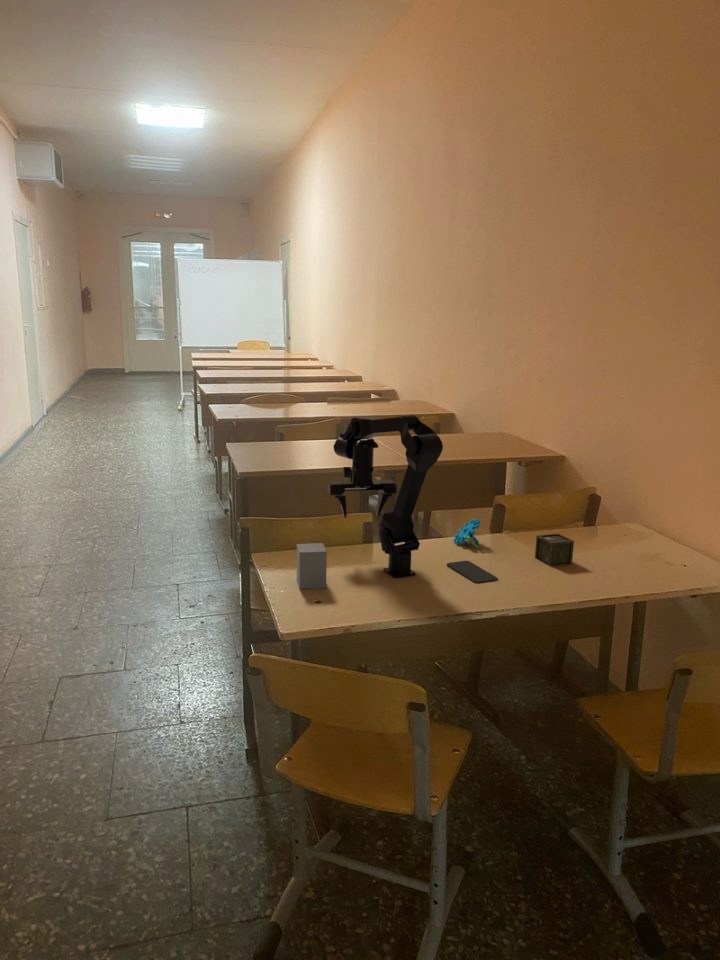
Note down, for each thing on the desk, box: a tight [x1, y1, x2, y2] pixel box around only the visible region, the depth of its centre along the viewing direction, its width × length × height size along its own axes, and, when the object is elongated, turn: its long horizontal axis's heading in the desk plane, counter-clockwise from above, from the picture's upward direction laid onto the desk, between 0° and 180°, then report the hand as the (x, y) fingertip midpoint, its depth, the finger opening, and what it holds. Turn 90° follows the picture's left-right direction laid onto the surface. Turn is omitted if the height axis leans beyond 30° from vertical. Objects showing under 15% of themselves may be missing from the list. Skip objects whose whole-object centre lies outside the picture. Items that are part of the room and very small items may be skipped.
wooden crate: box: [534, 533, 575, 567], centre depth 198 cm, size 7×7×7 cm
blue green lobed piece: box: [453, 517, 481, 549], centre depth 211 cm, size 11×6×10 cm
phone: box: [446, 560, 498, 584], centre depth 188 cm, size 7×1×15 cm
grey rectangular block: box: [296, 542, 328, 590], centre depth 176 cm, size 7×7×10 cm
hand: (361, 517), depth 197 cm, fingers open, 9 cm apart
